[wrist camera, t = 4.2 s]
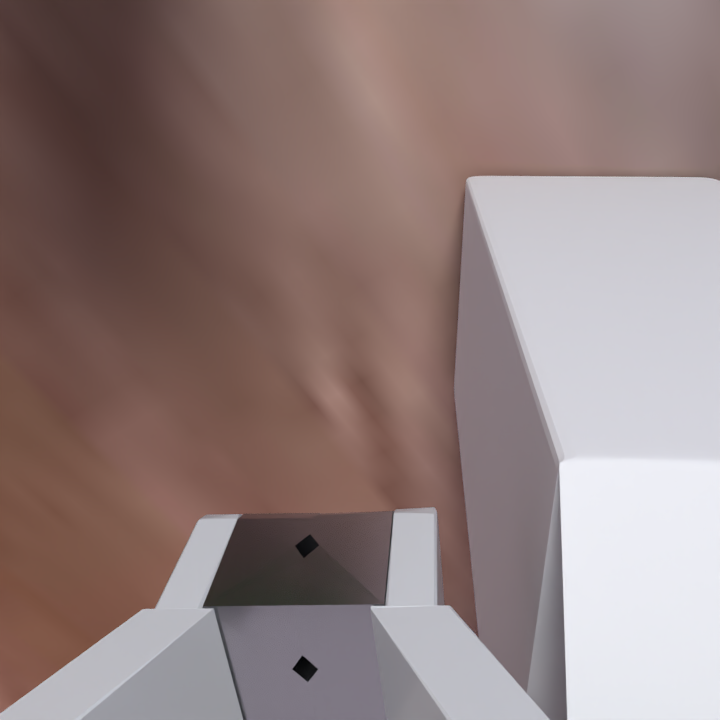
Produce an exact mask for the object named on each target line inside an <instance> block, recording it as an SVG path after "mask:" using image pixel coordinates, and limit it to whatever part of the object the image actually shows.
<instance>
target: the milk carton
mask: <svg viewBox="0 0 720 720" xmlns="http://www.w3.org/2000/svg"><path fill="white" fill-rule="evenodd" d="M454 396H455V406H456V416H457V426H458V436H459V446H460V456H461V466H462V476H463V486H464V496H465V506H466V516H467V526H468V536H469V546H470V556H471V566H472V576H473V586H474V596H475V606H476V616H477V626H478V636H479V639H480V640H481V641H482V643H483V644H484V645H485V646H486V647H487V648H488V649H489V651H490V652H491V653H492V654H493V655H494V656H495V657H496V659H497V660H498V661H499V662H500V663H501V664H502V665H503V667H504V668H505V669H506V670H507V671H508V672H509V673H510V675H511V676H512V677H513V678H514V679H515V680H516V681H517V683H518V684H519V685H520V686H521V687H522V688H523V689H524V691H525V692H526V693H527V694H528V695H529V696H530V697H531V699H532V700H533V701H534V702H535V703H536V704H537V705H538V707H539V708H540V709H541V710H542V711H543V712H544V713H545V715H546V716H547V717H548V718H549V719H550V720H720V181H718V180H716V179H711V178H703V177H588V176H474V177H469V178H468V179H467V180H466V189H465V206H464V224H463V241H462V258H461V276H460V293H459V310H458V328H457V345H456V362H455V379H454Z"/></svg>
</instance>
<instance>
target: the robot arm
mask: <svg viewBox="0 0 720 720" xmlns="http://www.w3.org/2000/svg"><path fill="white" fill-rule="evenodd" d="M0 720H550V719H549V718H548V717H547V716H546V715H545V713H544V712H543V711H542V710H541V709H540V708H539V707H538V705H537V704H536V703H535V702H534V701H533V700H532V699H531V697H530V696H529V695H528V694H527V693H526V692H525V691H524V689H523V688H522V687H521V686H520V685H519V684H518V683H517V681H516V680H515V679H514V678H513V677H512V676H511V675H510V673H509V672H508V671H507V670H506V669H505V668H504V667H503V665H502V664H501V663H500V662H499V661H498V660H497V659H496V657H495V656H494V655H493V654H492V653H491V652H490V651H489V649H488V648H487V647H486V646H485V645H484V644H483V643H482V641H481V640H480V639H479V638H478V637H477V636H476V634H475V633H474V632H473V631H472V630H471V629H470V628H469V626H468V625H467V624H466V623H465V622H464V621H463V620H462V618H461V617H460V616H459V615H458V614H457V613H456V612H455V610H454V609H453V608H452V607H451V606H444V591H443V577H442V564H441V551H440V539H439V526H438V516H437V511H436V509H435V507H429V508H412V509H396V510H395V511H379V512H351V513H323V514H320V513H268V514H243V515H241V514H220V515H205V516H204V517H202V518H201V519H199V520H198V522H197V523H196V525H195V527H194V529H193V531H192V533H191V536H190V538H189V540H188V542H187V544H186V546H185V548H184V550H183V552H182V554H181V556H180V558H179V560H178V562H177V564H176V566H175V568H174V570H173V572H172V574H171V576H170V578H169V580H168V582H167V584H166V587H165V589H164V591H163V593H162V595H161V597H160V599H159V601H158V603H157V605H156V607H155V609H142V610H141V611H140V612H138V613H137V614H136V615H134V616H133V617H131V618H130V619H129V620H127V621H126V622H125V623H123V624H122V625H120V626H119V627H118V628H116V629H115V630H114V631H112V632H111V633H110V634H108V635H107V636H105V637H104V638H103V639H101V640H100V641H99V642H97V643H96V644H95V645H93V646H92V647H90V648H89V649H88V650H86V651H85V652H84V653H82V654H81V655H80V656H78V657H77V658H75V659H74V660H73V661H71V662H70V663H69V664H67V665H66V666H64V667H63V668H62V669H60V670H59V671H58V672H56V673H55V674H54V675H52V676H51V677H49V678H48V679H47V680H45V681H44V682H43V683H41V684H40V685H39V686H37V687H36V688H34V689H33V690H32V691H30V692H29V693H28V694H26V695H25V696H23V697H22V698H21V699H19V700H18V701H17V702H15V703H14V704H13V705H11V706H10V707H8V708H7V709H6V710H4V711H3V712H2V713H0Z"/></svg>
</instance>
